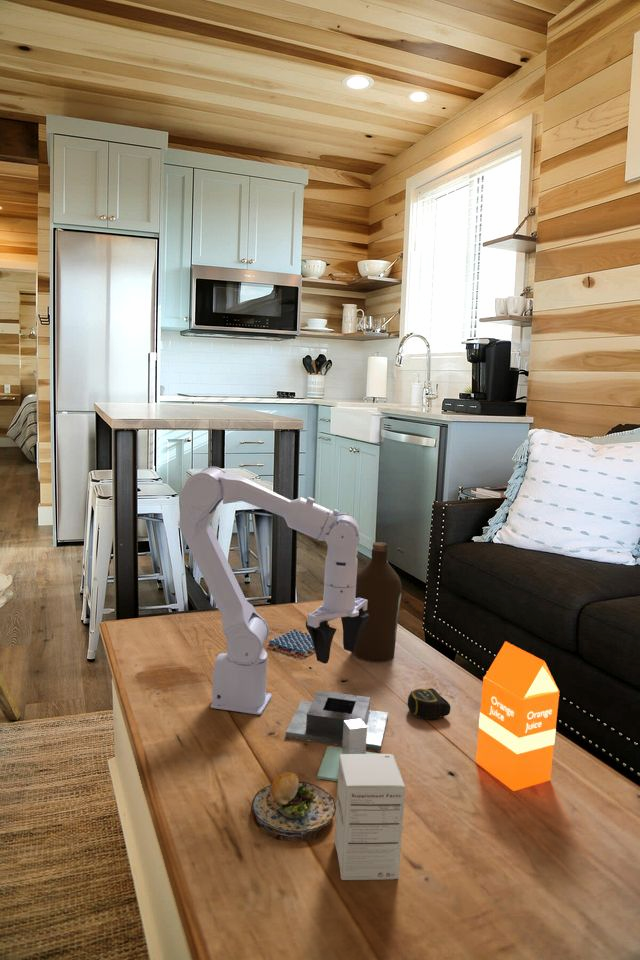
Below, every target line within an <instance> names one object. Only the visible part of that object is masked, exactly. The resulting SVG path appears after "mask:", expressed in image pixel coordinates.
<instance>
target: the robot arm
mask: <svg viewBox="0 0 640 960" xmlns="http://www.w3.org/2000/svg"><path fill="white" fill-rule="evenodd" d="M179 497H180V501H181V502H180V511H179V512H180V513H179V521H178V527H179V529H180V533H181V534H182V536H183V539H184V541H185V542H186V545H187V547H188V549H189V551H190V553H191V555H192V557H193V560H194V561H195V563H196V565H197V568H198V570H199V572H200V574H201V576H202V579H203V580H204V582H205V584H206V586H207V589H208V590H209V593H210V594H211V597H212V599H213V601H214V603H215V605H216V607H217V609H218V611H219V613H220V615H221V622H222V623H221V624H222V632H223V634H224V635H225V640H226V644H225V645H226V653H224V652H222V653H219V654H218V655H217V657H216V658H215V661H214V663H213V664H214V666H213V671H212V690H211V692H212V694H211V697H212V698H211V704H210V708H211V709H218V710H223V711H231V712H239V713H245V714H251V715H259V716H260V715H261V714H262V713H263V712H264V710H265V708H266V707H267V705H268V704H269V702H270V701H271V699H272V697H273V694H272V693H271V692H270V693H268V692H267V691H266V690H267V672H268V671H267V669H268V668H267V667H268V652H267V651H266V650H265V647H264V644H265V641H266V640H267V638H268V637H269V632H270V629H269V625H268V623H267V622H266V620H265V619H264V618H263V617H262V616H261V615H260V614H258V612H257V611H256V609H255V607H254V605H253V604H251V603H250V602H249V601H248V600H247V599H246V596H245V595H244V592H243V590H242V588H241V585H240V584H239V582H238V580H237V578H236V576H235V574H234V572H233V570H232V567H231V565H230V563H229V560H228V558H227V557H226V555H225V553H224V551H223V548H222V547H221V544H220V542H219V540H218V538H217V535H216V534H215V532H214V530H213V527H212V526H211V522H212V519H213V518H214V515H215V512H216V510H217V507H218V506H219V505H220V503H221V502H222V504H223V505H227V504H233V503H238V502H243V503H247V504H249V505H252V506H253V507H257V508H259V509H261V510H265V511H267V512H269V513H272V514H274V515H277V516H280V517H282V518H284V520H285V522H286V525H287V527H288V528H291V529H292V530H295V531H297V532H299V533H302V534H304V535H307V536H308V537H310V538H312V539H315V540H318V541H320V542H325V543H326V545H327V551H326V554H327V555H326V556H325V558H324V559H325V560H324V561H325V565H324V578H323V579H324V580H323V582H324V583H323V595H322V596H323V598H322V599H323V600H322V601H323V602H322V605H320V606H319V607H317V608H316V610H314V611H313V612H311V613H308V614H307V620H306V621H305V628H306V630H307V633H308V635H310V636H311V638H312V641H313V644H314V648H315V652H314V654H315V657H316V661H317V662H319V663H322V664H328V663H329V660H330V654H331V647H332V643H333V639H334V636H335V634H336V632H337V628H334V627H331V626H330V624H329V622H331V621H334V620H336V619H339V618H340V619H341V625H342V643H343V650H345V651H348V652H351V653H352V652H354V651H355V649H356V646H357V643H358V639H359V637H360V634H361V632H362V629H363V627H364V626H365V624H366V622H367V621H368V620H369V614H367V613H364V612H363V611H365V610H367V602H368V600H366V599H362V598H356V599H355V596H356V580H357V573H358V563H359V561H358V557H357V556H358V554H359V552H358V551H359V550H358V545H359V543H360V540H361V538H360V526H359V523H358V522H357V520H356V519H355V518H354V517H353V516H351V515H350V514H349V513H346V512H340V511H339V510H338V509H336V508H334V510H331V509H329V508H326V507H324V506H322V505H320V504H318V503H316V502H315V498H313V497H311V496H307V498H304V497H302V496H300V497H298V498H296V499H289V498H287V497H285V496H283V495H281V494H280V493H279V494H278V493H277V492H275V491H272V490H271V489H270V488H266V487H264V486H263V485H261V484H258V483H256V482H254V481H253V480H251V479H248V478H246V477H244V476H242V475H239V474H238V473H235V472H233V471H230V470H227V471H225V470H224V469H222V468H221V467H218V466H208V467H205V468H203V469H202V470H201V471H200V472H197V473H194V474H192V475H190V477H189V478H188V479H187V481H186V482H185V484H184V485H183V488H182V490H181V492H180V494H179Z"/></svg>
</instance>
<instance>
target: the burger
mask: <svg viewBox="0 0 640 960" xmlns="http://www.w3.org/2000/svg"><path fill="white" fill-rule="evenodd" d="M275 769H276V773H277V774H278V775H277V776H276V777H275V778H274V779H273V780H272V782H271V784H269V785H267V786H265V787H263V788H261V789H260V790H259V791H257V792H256V794H255V795H254V797H253V798H252V800H251V807H250V819H251V821H252V824H253V825H254V827H255V828H256V829H257V830H258V831H259V832H260V833H262V834H264V836H266V837H269V838H271V839H274V840H275V841H276V840H277V841H282V842H283V841H285V842H287V841H288V842H290V841H299V842H300V841H301V842H309V841H313V840H315V838H316V836H317V833H319V830H322V829H323V828H325V827H327V826H329V824H330V823H331V821H332V820H333V818H334V817H335V816H336V802H335V798H333V796H332V795H330V794H329V793H328V792H327V791H325V789H323V788H322V787H319V786H317V785H315V784H314V783H310V782H307V781H304V780H301V781H299V778H298V775H297V774H296V773H293V772H283V773H281V774H280V773H279V772H278V769H277V768H275Z"/></svg>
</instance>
